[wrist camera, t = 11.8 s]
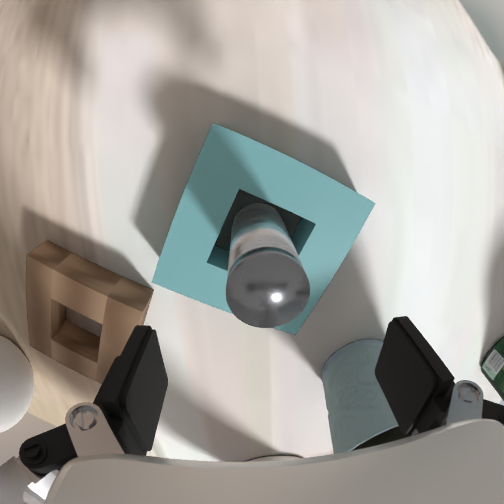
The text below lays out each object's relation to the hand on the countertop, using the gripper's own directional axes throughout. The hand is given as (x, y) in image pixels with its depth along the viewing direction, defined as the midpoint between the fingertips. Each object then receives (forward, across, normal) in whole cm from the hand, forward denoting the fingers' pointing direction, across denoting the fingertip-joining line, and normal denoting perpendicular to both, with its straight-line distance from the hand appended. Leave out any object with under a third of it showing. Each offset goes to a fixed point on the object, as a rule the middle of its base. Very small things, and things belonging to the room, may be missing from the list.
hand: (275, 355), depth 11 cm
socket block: (+13, 0, -1) cm, 13 cm away
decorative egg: (+14, +36, +17) cm, 43 cm away
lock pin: (+13, 0, -1) cm, 13 cm away
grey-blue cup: (+14, -11, +15) cm, 23 cm away
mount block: (+14, +17, +7) cm, 23 cm away
